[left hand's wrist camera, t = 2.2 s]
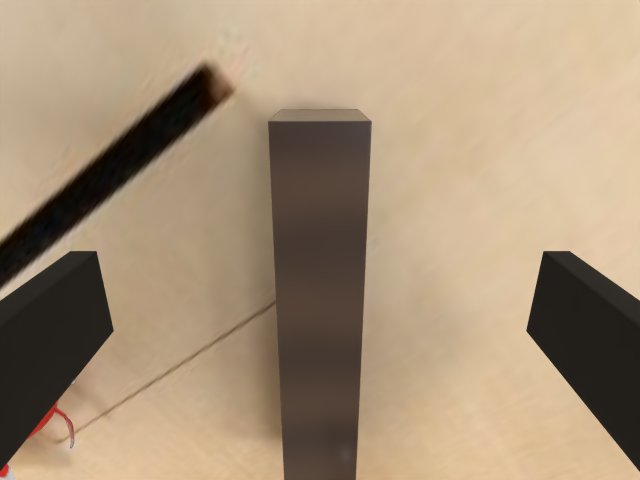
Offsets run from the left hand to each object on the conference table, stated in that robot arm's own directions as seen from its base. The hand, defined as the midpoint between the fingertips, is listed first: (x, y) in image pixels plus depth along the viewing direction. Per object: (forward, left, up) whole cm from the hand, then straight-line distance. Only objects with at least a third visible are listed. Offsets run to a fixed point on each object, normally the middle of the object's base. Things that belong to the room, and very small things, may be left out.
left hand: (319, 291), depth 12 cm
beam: (+10, 0, -17) cm, 19 cm away
